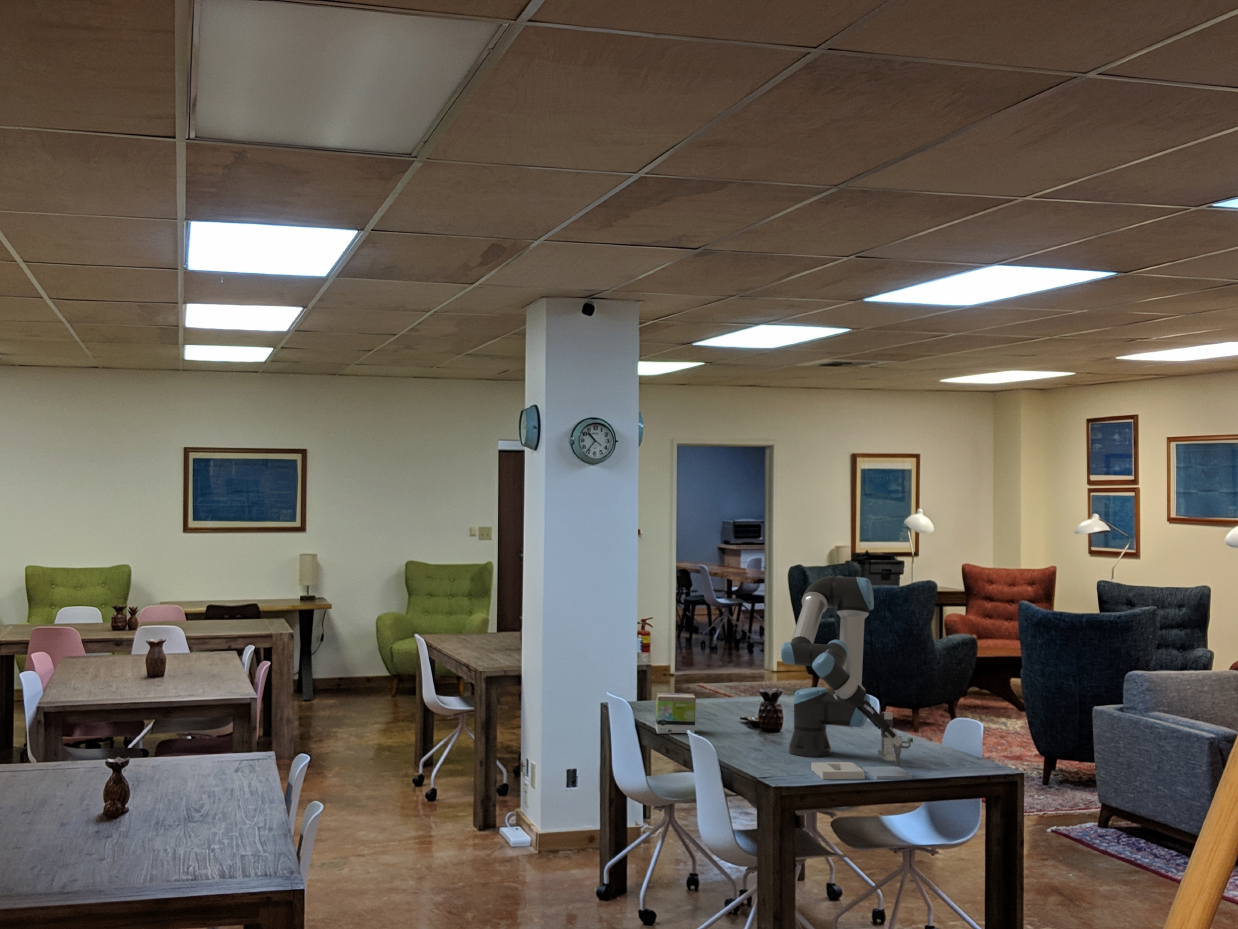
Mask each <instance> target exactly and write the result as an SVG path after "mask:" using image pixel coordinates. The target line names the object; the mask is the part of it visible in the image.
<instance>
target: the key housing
mask: <svg viewBox="0 0 1238 929" xmlns="http://www.w3.org/2000/svg"><path fill="white" fill-rule="evenodd" d="M810 765H811V768H810V769H811V771H812V772H813V771H814V772H815V773H814V772H813V773H814V774H816V775H817V776H818V775H819V776H820V777H821V778H820V777H819V776H818V777H819V778H820V779H821V780H865V777H866V776H865V775H866V774H865V773H866V771H864V770H863V768H860V766H857V765H856V764H855V763H853V762H851V761H850V762H845V761H844V762H841V761H840V762H836V761H835V762H831V761H830V762H825V761H824V762H823V761H821V762H811V764H810Z"/></svg>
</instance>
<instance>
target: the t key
mask: <svg viewBox="0 0 1238 929" xmlns="http://www.w3.org/2000/svg"><path fill="white" fill-rule="evenodd" d="M893 716H894V715H893V712H890V711H882V712H881V717H882V718H883V719H884V720H885V721H886V722H887V723H888V724H889V725H890V726H891V728H892V729H893V730H894V719H893ZM880 730H881V731H880V736H881V744H880V745H881V749H878V750H877V751H878V753H877V754H878V755H877V756H879V757H880V758H882V760H885V761H895V760H896V754H895V753H894V752H893V748H892V740H891V739H890V738H889V737H888V736H887V735H886V734H885V733H884V734H883V733H882V732H883V730H882V729H880Z"/></svg>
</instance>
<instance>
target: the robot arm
mask: <svg viewBox="0 0 1238 929" xmlns="http://www.w3.org/2000/svg"><path fill="white" fill-rule="evenodd" d="M801 605H802V606H801V610H800V614H799V616H798V619H797V623H796V626H795V628H794V631H793V634H792V638H791V640H790V641H788V642H783V643H782V644H781V649H780V657H781V662H782V663H783V664H785V665H793V666H805V667H806V666H808V667H810V666H811V668H812V670H814V672H815V673H816V674H817V676H818V677H819V678H820V679H821V680H823V682H824V683H826V685H828V687H830V689H831V690H832V692H830V691H829V692H828V689H827V688H826V687H820V686H818V687H817V686H816V687H806V688H802V689H798V690H796V691H795V693H794V695H793V696H794V697H793V732H792V735H791V739H790V741H789V745H788V753H789V754H791V755H794V756H798V757H799V756H800V757H808V758H809V757H812V758H814V757H815V758H818V757H819V756H821V757H826V756H830V755H832V747H831V743H830V741H829V736H828V734H827V726H835V727H847V728H863V727H864V726H865V725H866V722H868V721H867V720H869V721H870V722H871V723H872V725H874V727H875V728H877V729H879V730H880V732H881V729H882V730H883V732H882V733H883V734H884V733H885V734H886V735H887V736H888V737H889V738H890V739H891V740H892V743H893V744H896V746H899V745H900V744H901V743H902V742H903V741H904V739H903V738H902V739H903V740H902V739H901V738H900V737H899V736H900V735H899V734H898V733H897V732H896V731H895V730H894V728H893V729H892V728H891V726H890V725H889V724H888V723H887V722H886V721H885V720H884V719H883V718H882V714H880V713H879V712H878V710H876V709H875V707H874V706H872V704H871V702H870V701H871V697H870V695H869V694H867V692H866V688H865V687H864V686H863V684H862V682H863V665H864V664H863V658H864V639H865V638H864V637H865V634H864V633H865V619H866V618H867V617H868V616H869V615H870V611H872V610H874V608H875V606H874V605H875V600H874V591H873V586H872V583H871V580H870V579H868V578H867V577H859V576H830V575H829V576H824V577H822V578H819V579H816V580H815V581H814V582H813V583H811V584H810V585H809V586H808V587H807V588H806V590H805V591H804V593H803V596H802V599H801ZM828 608H829V609H836V614H837V615H838V616H839V618H840V622H839V624H840V625H839V639H833V640H830V641H829V642H828V643H827V644H825V643H824V644H820V643H814V642H815V638H816V637H817V636H816V635H817V633H818V629H819V625H820V622H821V619H822V616H823V613H825V612H826V611H827V609H828ZM902 744H903V743H902Z"/></svg>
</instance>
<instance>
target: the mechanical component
mask: <svg viewBox="0 0 1238 929" xmlns="http://www.w3.org/2000/svg"><path fill="white" fill-rule="evenodd" d="M898 736H899V737H900V738H901V739H902V740H903V742H902V743H901V744H900V745H899V746H896V744H893V743H892V749H893V753H894V754H896V760H894V765H895V767H900V765H901V764H900V763H901V761H900V760H901V758H900V756H901V754H902V749H905V750H907V749H910V748H911V745H912V744H911V743H913V742H914V738H913V737H911V736H908V737H907V738H908V739H907V740H906V741H905V740H904V739H903V737H902V736H901V735H898ZM903 744H908V745H903Z"/></svg>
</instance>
